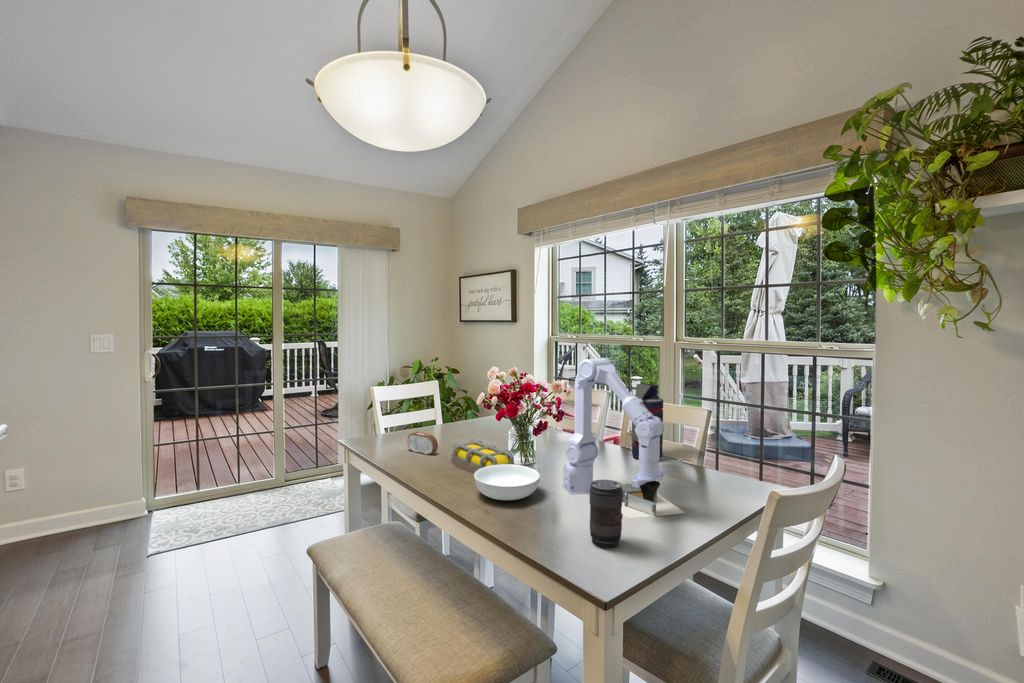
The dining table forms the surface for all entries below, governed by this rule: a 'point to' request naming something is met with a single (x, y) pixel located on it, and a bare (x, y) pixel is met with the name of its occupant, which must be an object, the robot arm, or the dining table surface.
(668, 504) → the mat
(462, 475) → the dining table surface
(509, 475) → the serving bowl
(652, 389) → the grenade
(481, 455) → the cage light
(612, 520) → the camera lens
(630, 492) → the grey and orange box
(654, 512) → the door
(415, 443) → the tin
